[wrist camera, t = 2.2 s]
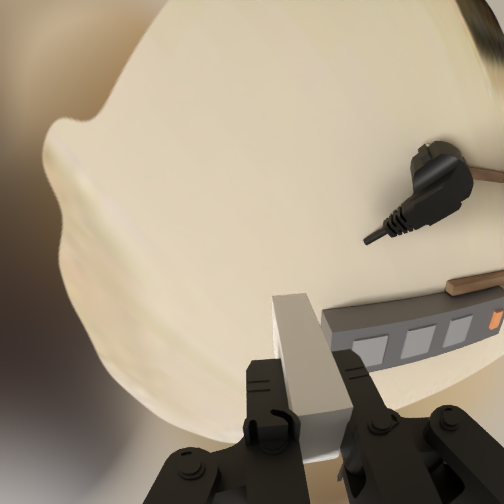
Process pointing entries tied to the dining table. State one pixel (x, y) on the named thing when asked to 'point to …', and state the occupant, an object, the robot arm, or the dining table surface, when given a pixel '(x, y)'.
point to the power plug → (430, 190)
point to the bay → (486, 279)
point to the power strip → (414, 326)
